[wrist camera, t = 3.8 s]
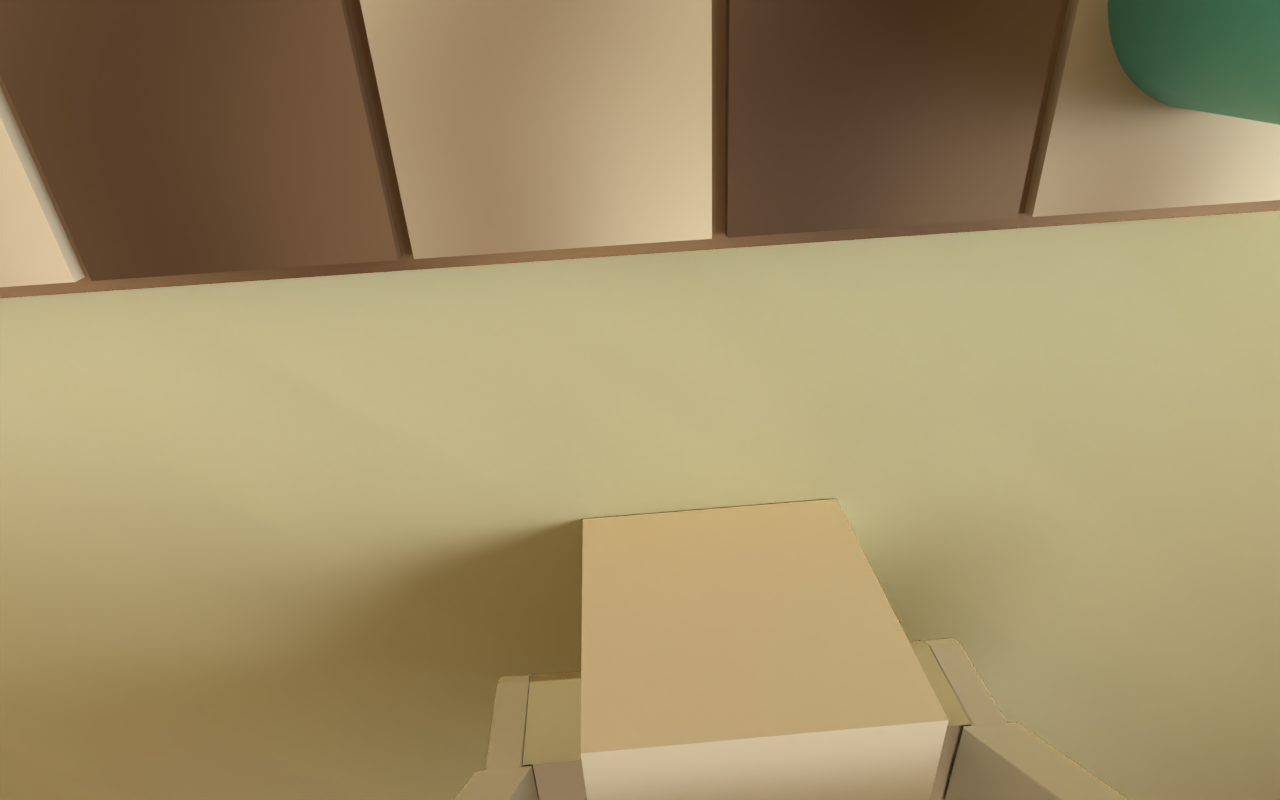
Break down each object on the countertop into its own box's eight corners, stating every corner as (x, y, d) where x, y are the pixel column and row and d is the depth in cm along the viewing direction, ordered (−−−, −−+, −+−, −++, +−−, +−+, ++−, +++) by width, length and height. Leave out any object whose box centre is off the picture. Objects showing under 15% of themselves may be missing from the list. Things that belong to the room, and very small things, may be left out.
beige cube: (836, 498, 12) (948, 719, 9) (818, 673, 15) (902, 914, 11) (582, 519, 12) (581, 753, 8) (602, 693, 14) (607, 943, 11)
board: (1483, -393, 7) (1579, -436, 7) (1265, 198, 10) (1315, 212, 10) (-1023, -290, 7) (-1215, -324, 6) (-490, 317, 9) (-578, 342, 9)
